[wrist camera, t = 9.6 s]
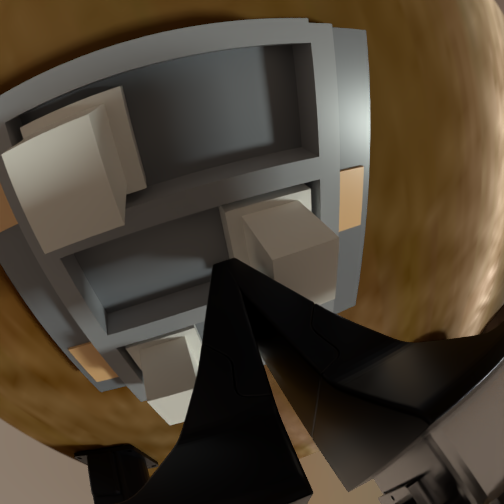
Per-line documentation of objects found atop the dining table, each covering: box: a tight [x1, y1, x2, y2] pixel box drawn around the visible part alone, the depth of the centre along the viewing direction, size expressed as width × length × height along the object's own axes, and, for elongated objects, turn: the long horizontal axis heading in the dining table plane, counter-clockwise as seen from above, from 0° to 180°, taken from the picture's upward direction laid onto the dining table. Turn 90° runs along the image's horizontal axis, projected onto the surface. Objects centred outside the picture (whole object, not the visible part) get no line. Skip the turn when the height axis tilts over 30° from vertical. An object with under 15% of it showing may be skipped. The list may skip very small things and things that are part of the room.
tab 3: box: [219, 183, 339, 305], centre depth 10 cm, size 3×3×4 cm
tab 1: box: [1, 86, 147, 254], centre depth 6 cm, size 3×3×4 cm
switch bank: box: [0, 18, 370, 402], centre depth 11 cm, size 14×15×3 cm
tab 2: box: [126, 324, 202, 425], centre depth 12 cm, size 3×3×4 cm
